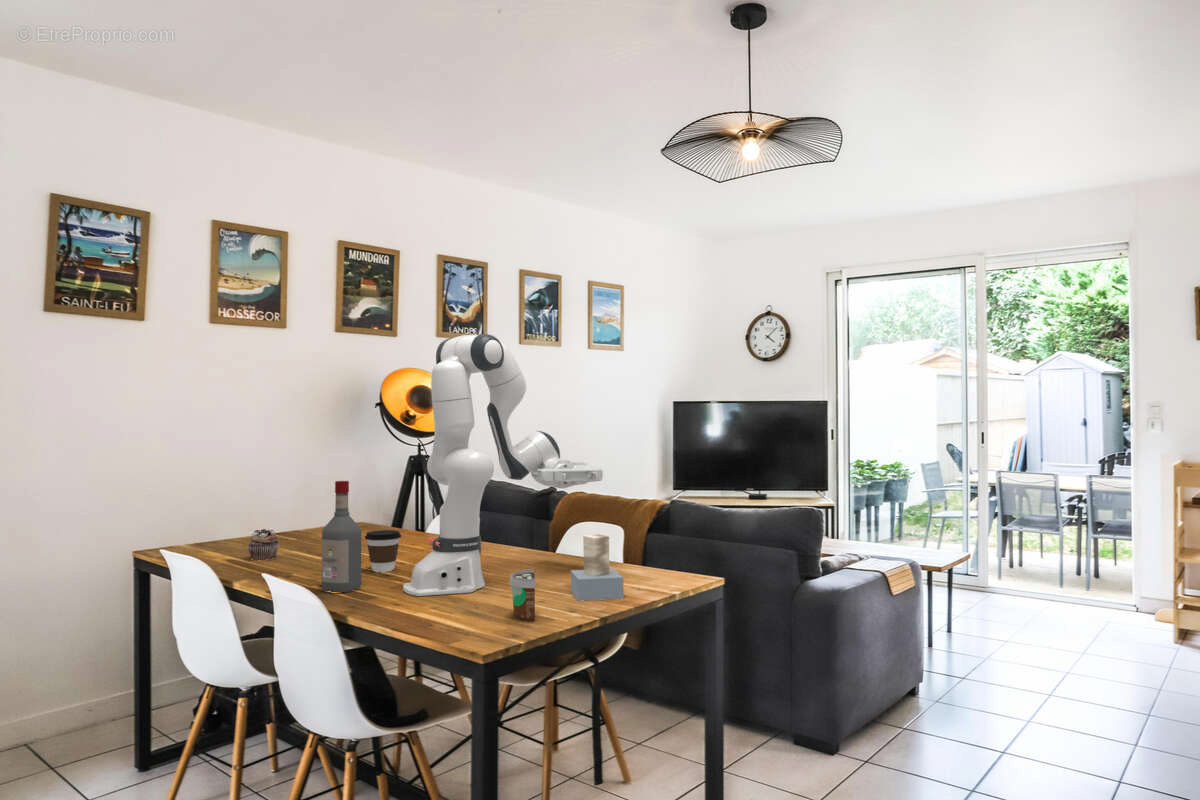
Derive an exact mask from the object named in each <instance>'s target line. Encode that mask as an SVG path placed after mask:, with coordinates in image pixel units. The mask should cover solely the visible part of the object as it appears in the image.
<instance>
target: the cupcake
mask: <svg viewBox="0 0 1200 800" xmlns="http://www.w3.org/2000/svg"><path fill="white" fill-rule="evenodd" d="M251 536H252V537H251V538H250V542H249V544H248V545H247V548H248V552H249V559H250V560H251V559H253V560H266V559H272V558H275V557H276V558H277V554H278V550H279V540H278V536H277V535H276V531H275V530H273V529H268V530H267V529H265V528H262V529H260V530H259V529H256V530H254V531H253V532H252V533H251ZM276 558H275V559H276Z"/></svg>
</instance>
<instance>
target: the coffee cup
mask: <svg viewBox="0 0 1200 800" xmlns="http://www.w3.org/2000/svg"><path fill="white" fill-rule="evenodd" d="M364 538H365V540H366V541H367V544H366V545H367V551H368V557H369V562H370V567H371V571H372V572H373V571H376V572H386V571H391V570H393V569H394V570H395V567H396V561H397V556H398V551H399V546H400V545H399V544H400V543H399V541H400V538H402V534H401V533H400V531H399V530H392V529H389V530H387V529H383V530H382V529H380V530H372V531H367V532H366V535H364ZM394 570H393V571H394Z"/></svg>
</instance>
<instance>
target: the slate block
mask: <svg viewBox="0 0 1200 800" xmlns="http://www.w3.org/2000/svg"><path fill="white" fill-rule="evenodd" d="M609 571H610V574H606V575H599V576H591V575H588V574H585V573H584V569H571V570H570V592H571V594H572V595H573V594H574V595H573V596H574V597H576V598H577V599H576V598H575V599H576V601H577V602H582V601H581V600H597V599H599V600H598V601H601V600H600V599H603V600H602V601H605V600H604V599H618V600H623V599H624V576H622V575H621V574H620V573H619V571H617V570H616V569H615V568H609ZM622 598H623V599H622Z"/></svg>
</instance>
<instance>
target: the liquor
mask: <svg viewBox="0 0 1200 800" xmlns="http://www.w3.org/2000/svg"><path fill="white" fill-rule="evenodd" d="M349 483H350V481H349V480H336V481H335V482H334V492H335V510H334V515H333V516H332V518H331V519H330V520H329V522H328V523H326V525H325V526H324V527H323V529H322V531H321V588H322V591H323V592H324V591H331V592H348V591H351V592H353V591H352V590H355V589H358V588H360V589H361V587H362V529H361V527H360V526H359V525H358V524H357V522H355V519H353V518H352V517H351V515H350V512H349V491H350V485H349ZM358 590H359V589H358ZM355 591H356V590H355ZM348 593H349V592H348Z"/></svg>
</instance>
